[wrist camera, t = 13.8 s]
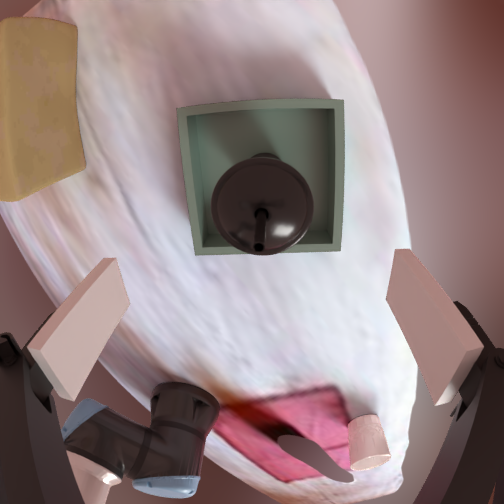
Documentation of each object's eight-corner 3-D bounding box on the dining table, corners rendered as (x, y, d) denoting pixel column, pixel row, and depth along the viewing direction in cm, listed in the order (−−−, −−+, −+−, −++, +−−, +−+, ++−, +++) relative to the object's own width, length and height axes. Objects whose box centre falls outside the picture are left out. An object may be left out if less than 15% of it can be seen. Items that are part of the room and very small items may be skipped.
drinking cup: (304, 195, 34) (338, 290, 17) (243, 210, 36) (215, 314, 18) (288, 133, 31) (314, 160, 13) (224, 150, 33) (168, 200, 15)
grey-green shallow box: (203, 238, 39) (195, 255, 34) (189, 108, 31) (176, 108, 27) (332, 234, 38) (340, 251, 33) (333, 101, 30) (343, 99, 26)
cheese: (51, 33, 25) (-20, 25, 12) (101, 20, 25) (30, -4, 12) (42, 169, 35) (-27, 201, 22) (88, 170, 35) (16, 206, 22)
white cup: (343, 418, 58) (349, 461, 47) (382, 408, 56) (392, 450, 45) (345, 434, 61) (351, 473, 51) (381, 425, 60) (389, 463, 49)
